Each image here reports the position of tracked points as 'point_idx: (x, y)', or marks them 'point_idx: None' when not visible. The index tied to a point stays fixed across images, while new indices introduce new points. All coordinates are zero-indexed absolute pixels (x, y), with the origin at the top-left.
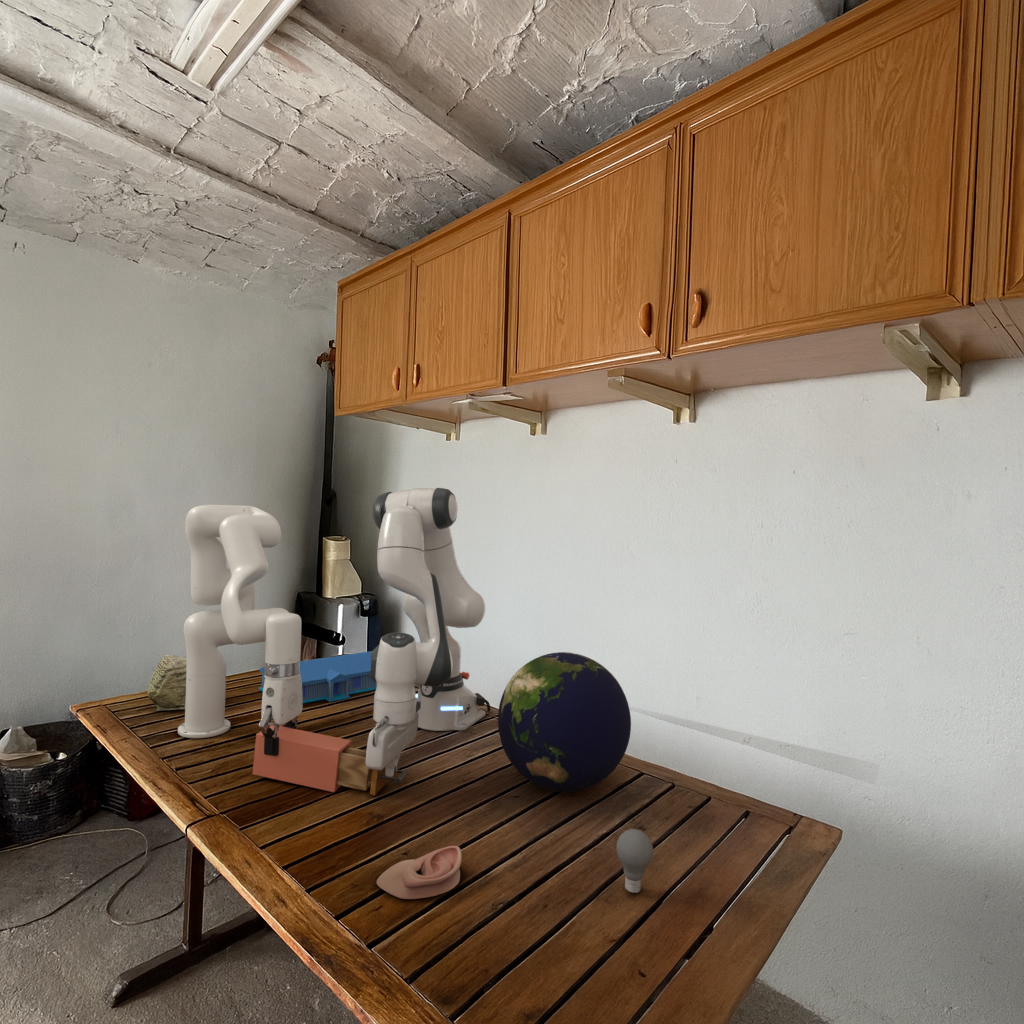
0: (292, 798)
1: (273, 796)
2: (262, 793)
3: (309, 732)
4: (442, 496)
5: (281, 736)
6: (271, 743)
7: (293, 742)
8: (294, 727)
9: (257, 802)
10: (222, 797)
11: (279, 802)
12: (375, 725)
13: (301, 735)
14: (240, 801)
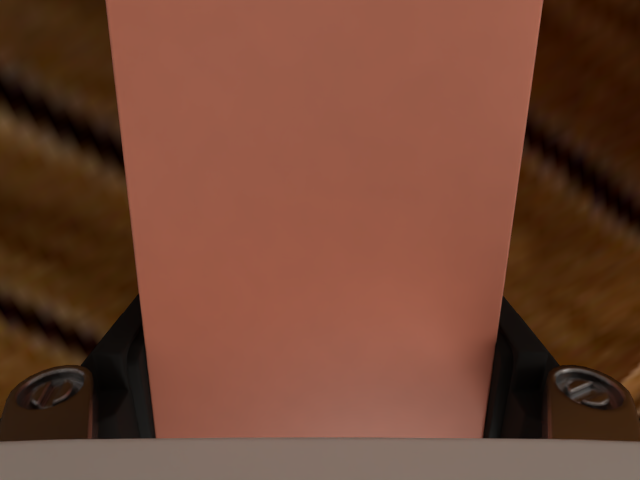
0: (559, 10)
1: (545, 136)
2: (518, 210)
3: (140, 108)
4: None
5: (420, 351)
6: (550, 362)
7: (523, 140)
8: (126, 353)
9: (620, 179)
10: (579, 354)
11: (614, 61)
12: None
13: (284, 157)
14: (614, 262)
